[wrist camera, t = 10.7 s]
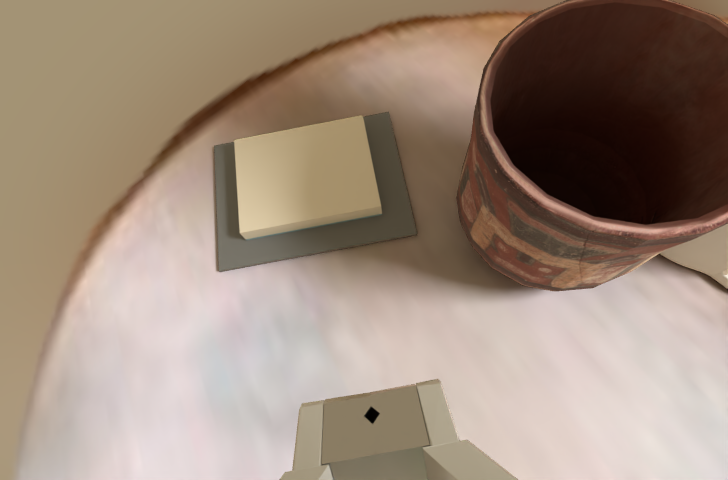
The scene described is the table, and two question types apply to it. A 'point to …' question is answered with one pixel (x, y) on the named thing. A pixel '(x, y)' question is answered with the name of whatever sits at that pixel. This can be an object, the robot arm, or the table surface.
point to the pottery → (597, 141)
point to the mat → (325, 238)
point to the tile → (305, 178)
